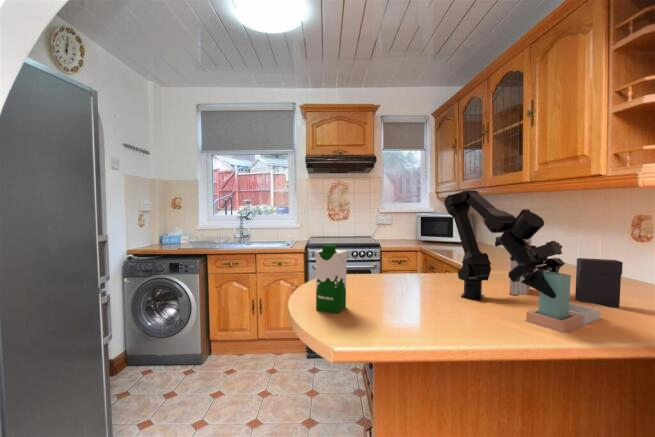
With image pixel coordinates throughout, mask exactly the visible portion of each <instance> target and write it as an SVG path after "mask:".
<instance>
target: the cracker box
mask: <svg viewBox="0 0 655 437" xmlns="http://www.w3.org/2000/svg"><path fill="white" fill-rule="evenodd" d="M525 240H526V239H525ZM526 241H527V243H528V244H529V245H530V246H531V245H532V238H530V239H528V240H526ZM510 257H512V256H511V255H510ZM509 260H510V261H509V262H510V263H509V265H510V266H509V270H510V271H511V270H512V269H513V268H515V267H516V266H517V265H518V263H517V262H516V261H511V259H510V258H509ZM523 277H524V276H522V277H520V281H518V282H512V281H511V279H510V278H509V295H511V296H515V297H516V296H521V295H526V296H528V295H529V293H530V290H531V287H530V286H528V285H526V284H524V283H521V281H523V280H524V278H523Z"/></svg>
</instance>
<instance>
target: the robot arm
mask: <svg viewBox="0 0 655 437" xmlns="http://www.w3.org/2000/svg"><path fill="white" fill-rule="evenodd" d="M443 204H444V207H445V209H446V212H447V214H449V215H450V216H451V217H452V218H453V220H454V222H455V225H456V229H457V233H458V236H459V240H460V243H461V248H462V249H463V252H464V254H463V258H462V261H461V262H462V267H461V268H460V269H459V270H458V271H457V278H458V279H459V280H461V281H463V293H462V294H461V295H460V297H461V298H465V299H470V300H477V301H482V299H483V298H484V296H485V295H484V294H482V292H483V291H482V289H483V281H486V282H487V281H489V279H490V278H489V277H490V275H491V271H492V266H491V265H492V263H491V261H490V260H489V258H490V257H489V254H488V253H487V252H482V251H481V250H480V248H479V245H478V242H477V238H476V236H475V233H474V229H473V226H472V224H471V223H472V222H471V220H470V217H469V212H470V209H471V208H472V209H473V210H474V211H475V212H477V214H478V215H479V216H481V217H482V218H483V219H484V221H483V222H484V225H485V226H486V228H487V229H488V231H489V232H490V233H492V234H500V233H501V235H500V236H495V242H494V246H495V247H499V246H500V247H501V246H502V247H503V248H504V249H505V250H506V251H507V253H508V254H509V255H510V257H509V260H510V259H511V261H516V262H517V263H518V265H517V266H516V267H515V268H513V269H512V270H511V271H509V272H508V278H509V280H510V279H511V281H512V282H518V281H520V277H522V276H524V277H523V278H524V280H523V281H521V283H524V284H526V285H528V286H530V288H532V289H534V290H537V291H538V292H539V291H540V292H542V293H543V294H545V295H547V296H549V297H551V298H555V297H556V295H555V293H554V291H553V290H552V288H551V287H550V286H549V284H548V283H547V281H546V280H545V278H544V272H549V271H551V272H556V273H560V270H561V267H563V266H564V265H566V263H565V262H564V260H562V259H561V258H559V257H553V256H556V255H559V256H560V255H562V254H563V252H562V248H563V245H561V244H560V242H557V241H556V240H551V241H547V242H545V244H543V245H540V246H539V245H538V246H536V245H534V244H533V245H532V244H531V246H530V245H529V244H528V243H527V241H526V240H528V239H530V238H531V239H533V237H534V236H535V235H536V234H537V233H538V232H539V231H540V230H541V229H542V228H543V227H544V226H545V221H544V219H543V218H542V216H540V215H538V214H536V213H535V212H532V211H531V210H530V209H521V211H519V214H518V215H517V216H515V215H513V214H511V213H509V212H507V211H505V210H501V209H498V208H497V207H495V206H494V205H493V204H492V203H491V202H490V201H488V200H487V199H486V198H485V197H483V196H482V195H481V194H480V192H479V191H478V190H476V189H466V190H462V191H461V192H457V193H454V194H448V195H447V196H446V197H445V199H444V201H443ZM525 239H526V240H525ZM511 256H512V257H511ZM549 257H552V258H549Z"/></svg>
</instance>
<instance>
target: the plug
mask: <svg viewBox="0 0 655 437" xmlns="http://www.w3.org/2000/svg"><path fill="white" fill-rule="evenodd" d="M571 276H572V275H571V274H567V273H560V272H559V273H556V272H551V271H549V272H544V278H545V280H546V281H547V283H548V284H549V286H550V287H551V288H552V290H553V291H554V293H555V295H556V297H555V298H551V297H549V296H547V295H545V294H543V293H542V292H540V291H538V292H539V293H538V295H539V296H538V308H539V313H538V314H540V315H544V316H547V317H551V318H554V319H558V320H564V319H567V318H569V303H571V302H570V298H571V297H570V295H571V282H572V281H571V278H572V277H571Z"/></svg>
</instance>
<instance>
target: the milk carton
mask: <svg viewBox="0 0 655 437" xmlns="http://www.w3.org/2000/svg"><path fill="white" fill-rule="evenodd" d="M321 247H322V248H321V249H320V250H317V251H315V252H314V253H315V264H316V265H315V266H316V267H315V269H316V270H315V273H316V274H315V310H316V311H319V312H325V313H332V314H338V313H339V312H341V311H342V310H344V309H345V308H346V306H347V304H346V303H347V260H348V250H343V249H342V250H341V249H337V248H336V244H322V246H321Z"/></svg>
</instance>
